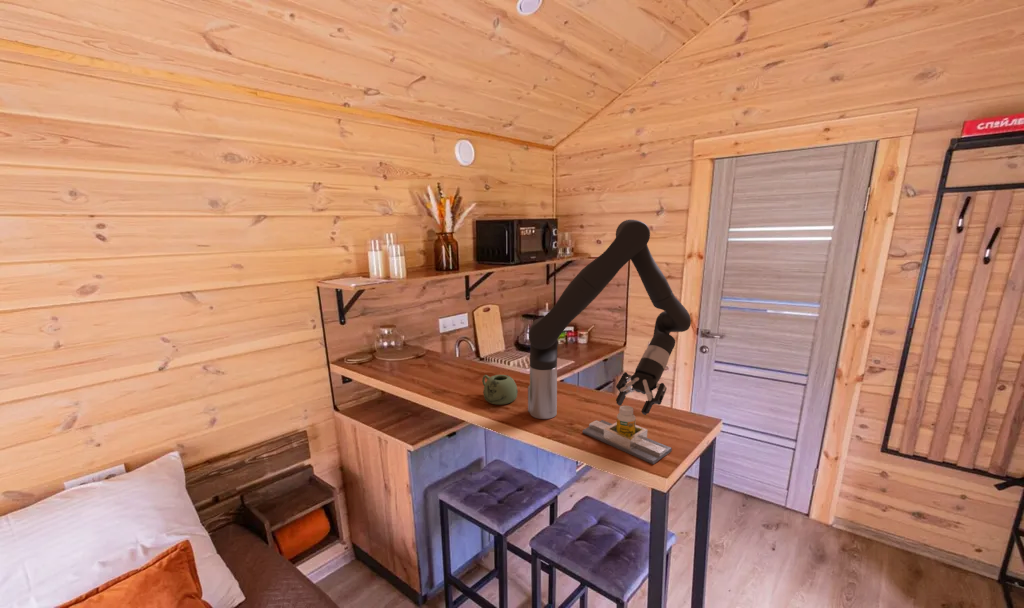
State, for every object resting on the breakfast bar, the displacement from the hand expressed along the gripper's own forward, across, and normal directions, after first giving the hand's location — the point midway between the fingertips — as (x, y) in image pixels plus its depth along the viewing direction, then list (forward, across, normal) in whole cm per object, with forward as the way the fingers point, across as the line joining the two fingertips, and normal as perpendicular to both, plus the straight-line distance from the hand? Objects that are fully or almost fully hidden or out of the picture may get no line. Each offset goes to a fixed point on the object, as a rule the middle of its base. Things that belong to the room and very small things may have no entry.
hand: (630, 408), depth 123 cm
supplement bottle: (+8, 0, +5) cm, 9 cm away
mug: (+14, -51, 0) cm, 53 cm away
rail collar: (+8, 0, +5) cm, 10 cm away
